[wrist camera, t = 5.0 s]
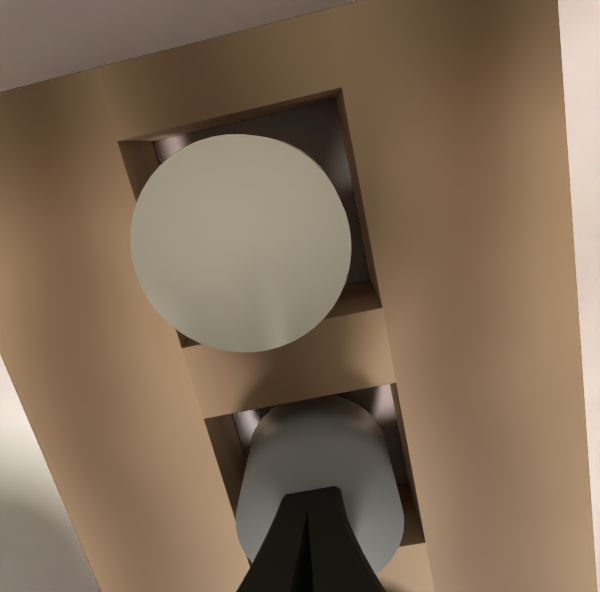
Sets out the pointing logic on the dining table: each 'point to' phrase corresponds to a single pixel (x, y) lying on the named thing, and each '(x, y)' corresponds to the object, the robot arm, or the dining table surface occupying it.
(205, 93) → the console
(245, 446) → the dining table surface
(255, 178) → the ivory key
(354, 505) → the graphite key
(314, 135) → the dining table surface
